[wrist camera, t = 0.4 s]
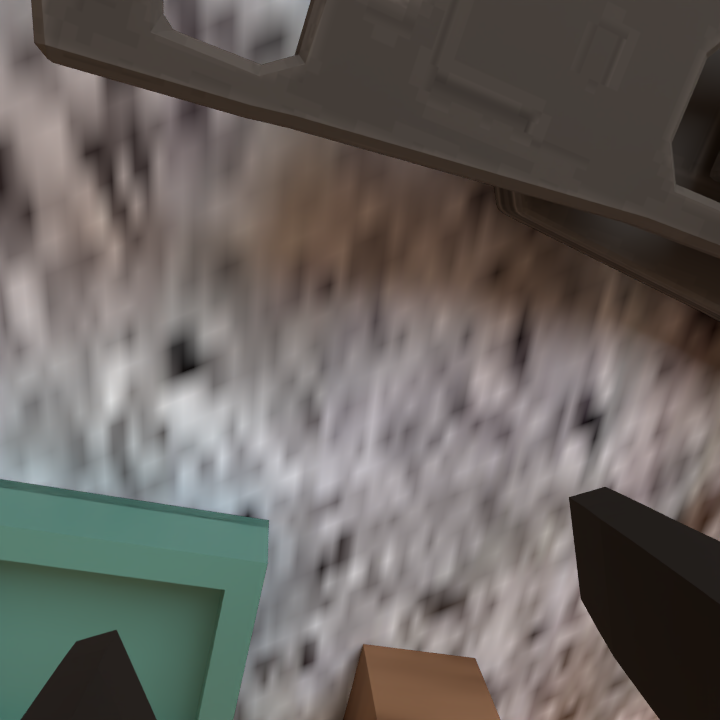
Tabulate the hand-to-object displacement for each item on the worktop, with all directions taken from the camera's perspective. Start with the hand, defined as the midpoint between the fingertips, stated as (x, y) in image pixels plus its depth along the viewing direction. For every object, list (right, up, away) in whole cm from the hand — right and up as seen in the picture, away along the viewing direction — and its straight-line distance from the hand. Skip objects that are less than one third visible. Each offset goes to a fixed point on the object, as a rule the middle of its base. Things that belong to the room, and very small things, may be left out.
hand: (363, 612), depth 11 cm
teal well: (-9, -5, +11) cm, 15 cm away
